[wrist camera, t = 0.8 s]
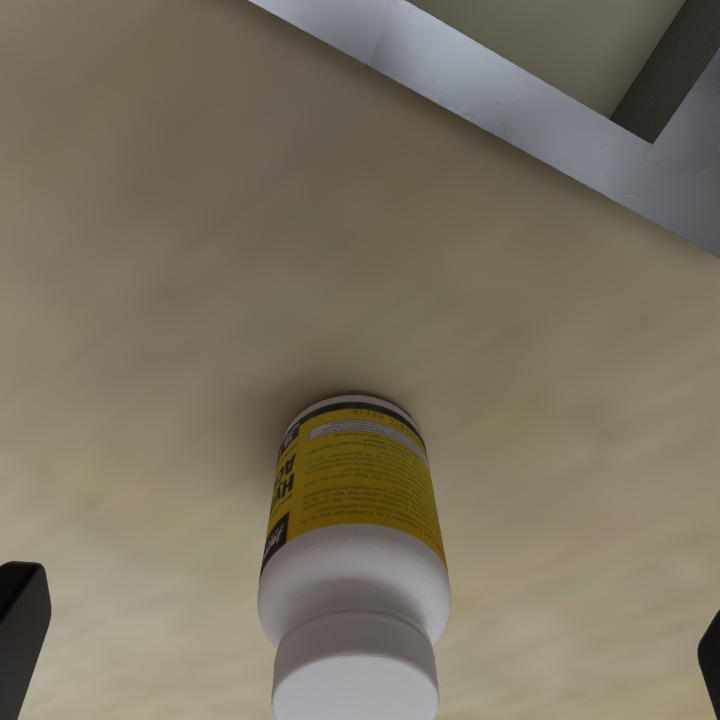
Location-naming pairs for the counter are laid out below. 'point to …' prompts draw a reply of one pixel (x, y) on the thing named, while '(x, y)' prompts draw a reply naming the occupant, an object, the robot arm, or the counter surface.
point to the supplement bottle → (354, 567)
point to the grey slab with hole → (560, 103)
